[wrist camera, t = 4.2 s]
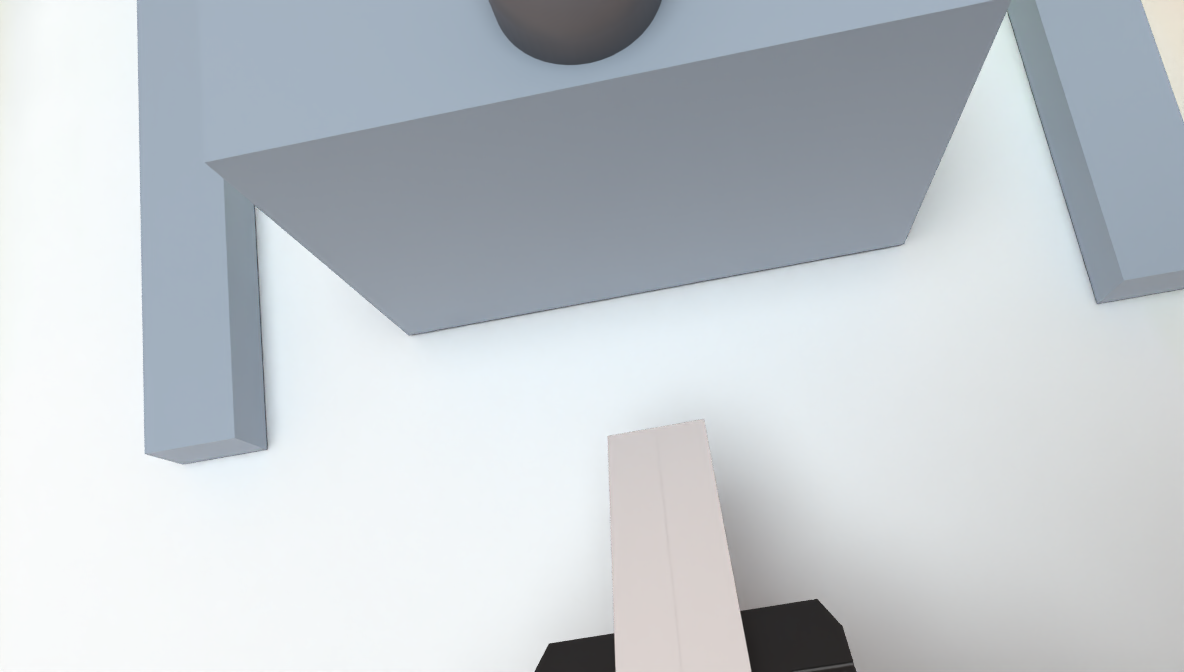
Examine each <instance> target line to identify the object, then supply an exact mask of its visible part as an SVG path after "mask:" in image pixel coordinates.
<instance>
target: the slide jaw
mask: <svg viewBox="0 0 1184 672" xmlns="http://www.w3.org/2000/svg"><path fill="white" fill-rule="evenodd" d="M1010 2H1011V0H198V7H199V33H200V60H201V86H202V113H203V140H204V163H206V164H207V165H208V166H209V167H210V168H212V169H213V170H214V171H215V172H216V173H217V174H219V175H220V176H221V177H222V178H223V179H224V180H226V181H227V182H228V183H229V184H230V185H232V186H233V187H234V188H235V189H236V190H237V191H239V192H240V193H241V194H242V195H243V196H245V197H246V198H247V199H248V200H249V201H250V202H252V203H253V204H254V205H255V206H256V207H258V208H259V209H260V210H261V211H262V212H263V213H265V214H266V215H267V216H268V217H269V218H271V219H272V220H273V221H274V222H275V223H276V224H278V225H279V226H280V227H281V228H282V229H284V230H285V231H286V232H287V233H288V234H289V235H291V236H292V237H293V238H294V239H295V240H297V241H298V242H299V243H300V244H301V245H302V246H304V247H305V248H306V249H307V250H308V251H310V252H311V253H312V254H313V255H314V256H315V257H317V258H318V259H319V260H320V261H321V262H323V263H324V264H325V265H326V266H327V267H328V268H330V269H331V270H332V271H333V272H334V273H336V274H337V275H338V276H339V277H340V278H341V279H343V280H344V281H345V282H346V283H347V284H349V285H350V286H351V287H352V288H353V289H354V290H356V291H357V292H358V293H359V294H360V295H362V296H363V297H364V298H365V299H366V300H367V301H369V302H370V303H371V304H372V305H373V306H375V307H376V308H377V309H378V310H379V311H380V312H382V313H383V314H384V315H385V316H386V317H388V318H389V319H390V320H391V321H392V322H393V323H395V324H396V325H397V326H398V327H399V328H401V329H402V330H403V331H404V332H405V333H406V334H408V335H413V334H418V333H424V332H429V331H435V330H440V329H446V328H451V327H456V326H462V325H467V324H473V323H478V322H484V321H489V320H494V319H500V318H505V317H511V316H516V315H522V314H527V313H532V312H538V311H543V310H549V309H554V308H560V307H565V306H570V305H576V304H581V303H587V302H592V301H598V300H603V299H608V298H614V297H619V296H625V295H630V294H636V293H641V292H646V291H652V290H657V289H663V288H668V287H674V286H679V285H684V284H690V283H695V282H701V281H706V280H712V279H717V278H722V277H728V276H733V275H739V274H744V273H750V272H755V271H760V270H766V269H771V268H777V267H782V266H788V265H793V264H798V263H804V262H809V261H815V260H820V259H826V258H831V257H836V256H842V255H847V254H853V253H858V252H864V251H869V250H874V249H880V248H885V247H891V246H896V245H902V244H904V242H905V240H906V238H907V236H908V233H909V231H910V229H911V227H912V224H913V222H914V220H915V218H916V215H917V213H918V211H919V208H920V206H921V204H922V202H923V199H924V197H925V195H926V193H927V190H928V188H929V186H930V184H931V181H932V179H933V177H934V175H935V172H936V170H937V168H938V165H939V163H940V161H941V159H942V156H943V154H944V152H945V150H946V147H947V145H948V143H949V141H950V138H951V136H952V134H953V132H954V129H955V127H956V125H957V122H958V120H959V118H960V116H961V113H962V111H963V109H964V107H965V104H966V102H967V100H968V98H969V95H970V93H971V91H972V88H973V86H974V84H975V82H976V79H977V77H978V75H979V73H980V70H981V68H982V66H983V64H984V61H985V59H986V57H987V55H988V52H989V50H990V48H991V45H992V43H993V41H994V39H995V36H996V34H997V32H998V30H999V27H1000V25H1001V23H1002V21H1003V18H1004V16H1005V14H1006V12H1007V9H1008V7H1009V5H1010Z"/></svg>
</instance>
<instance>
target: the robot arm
mask: <svg viewBox="0 0 1184 672" xmlns="http://www.w3.org/2000/svg"><path fill="white" fill-rule="evenodd" d="M608 463H609V492H610V521H611V551H612V580H613V609H614V634H607V635H601V636H594V637H588V638H582V639H575V640H569V641H563V642H556V643H550V644H549V645H548V647H547V649H546V651H545V653H544V654H543V656H542V658H541V660H540V662H539V664H538V666H537V668H536V670H535V672H856V669H855V667H854V664H853V659H852V656H851V653H850V649H849V646H848V643H847V640H846V636H845V633H844V630H843V626H842V625H841V624H840V623H839V622H838V621H837V620H836V619H835V618H834V617H833V616H832V615H831V613H830V612H829V611H828V610H827V609H826V608H825V607H824V606H823V605H822V604H821V603H820V602H819V601H818V599H814V600H808V601H801V602H795V603H789V604H782V605H776V606H770V607H763V608H757V609H751V610H744V611H740V608H739V603H738V598H737V592H736V587H735V582H734V576H733V571H732V566H731V560H730V555H729V549H728V544H727V539H726V533H725V528H724V523H723V517H722V512H721V507H720V501H719V496H718V491H717V485H716V480H715V475H714V469H713V464H712V459H711V453H710V448H709V443H708V437H707V432H706V427H705V421H704V419H701V420H696V421H690V422H684V423H679V424H673V425H667V426H662V427H656V428H650V429H645V430H639V431H633V432H628V433H622V434H616V435H611V436H608Z"/></svg>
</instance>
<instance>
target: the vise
mask: <svg viewBox="0 0 1184 672" xmlns="http://www.w3.org/2000/svg"><path fill="white" fill-rule="evenodd" d="M1007 11H1008V14H1009V17H1010V20H1011V24H1012V27H1013V30H1014V33H1015V37H1016V40H1017V43H1018V46H1019V50H1020V53H1021V56H1022V60H1023V63H1024V66H1025V69H1026V73H1027V76H1028V79H1029V82H1030V86H1031V89H1032V92H1033V95H1034V99H1035V102H1036V105H1037V109H1038V112H1039V115H1040V118H1041V122H1042V125H1043V128H1044V131H1045V135H1046V138H1047V141H1048V144H1049V148H1050V151H1051V154H1052V158H1053V161H1054V164H1055V167H1056V171H1057V174H1058V177H1059V180H1060V184H1061V187H1062V190H1063V193H1064V197H1065V200H1066V203H1067V207H1068V210H1069V213H1070V216H1071V220H1072V223H1073V226H1074V229H1075V233H1076V236H1077V239H1078V242H1079V246H1080V249H1081V252H1082V255H1083V259H1084V262H1085V265H1086V269H1087V272H1088V275H1089V278H1090V282H1091V285H1092V288H1093V291H1094V295H1095V298H1096V301H1097V304H1099V303H1104V302H1110V301H1116V300H1122V299H1127V298H1133V297H1139V296H1144V295H1150V294H1156V293H1161V292H1167V291H1173V290H1179V289H1184V122H1183V119H1182V116H1181V113H1180V110H1179V108H1178V105H1177V102H1176V99H1175V96H1174V93H1173V91H1172V88H1171V85H1170V82H1169V79H1168V76H1167V74H1166V71H1165V68H1164V65H1163V62H1162V59H1161V56H1160V54H1159V51H1158V48H1157V45H1156V42H1155V39H1154V37H1153V34H1152V31H1151V28H1150V25H1149V22H1148V19H1147V17H1146V14H1145V11H1144V8H1143V5H1142V2H1141V0H1011V2H1010V5H1009V7H1008V9H1007ZM137 29H138V87H139V145H140V203H141V262H142V320H143V378H144V436H145V454H147V455H150V456H154V457H158V458H161V459H165V460H169V461H172V462H176V463H180V464H187V463H193V462H198V461H204V460H210V459H215V458H221V457H227V456H232V455H238V454H244V453H250V452H255V451H261V450H267V439H266V420H265V401H264V382H263V363H262V344H261V325H260V306H259V287H258V268H257V249H256V230H255V211H254V204H253V203H252V202H250V201H249V200H248V199H247V198H246V197H245V196H243V195H242V194H241V193H240V192H239V191H237V190H236V189H235V188H234V187H233V186H232V185H230V184H229V183H228V182H227V181H226V180H224V179H223V178H222V177H221V176H220V175H219V174H217V173H216V172H215V171H214V170H213V169H212V168H210V167H209V166H208V165H207V164H206V163H204V140H203V113H202V86H201V60H200V33H199V7H198V0H137Z"/></svg>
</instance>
